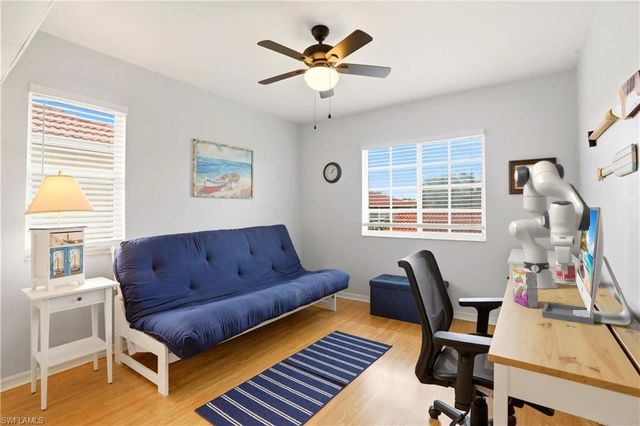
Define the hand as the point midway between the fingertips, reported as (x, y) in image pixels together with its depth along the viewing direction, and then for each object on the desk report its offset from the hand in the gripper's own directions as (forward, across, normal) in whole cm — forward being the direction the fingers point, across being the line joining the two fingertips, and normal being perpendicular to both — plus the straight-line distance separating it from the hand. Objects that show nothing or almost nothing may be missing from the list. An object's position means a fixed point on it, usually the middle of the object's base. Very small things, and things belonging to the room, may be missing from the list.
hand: (565, 272), depth 127 cm
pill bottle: (+5, 0, 0) cm, 5 cm away
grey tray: (+18, 0, 0) cm, 18 cm away
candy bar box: (+18, -8, -16) cm, 26 cm away
